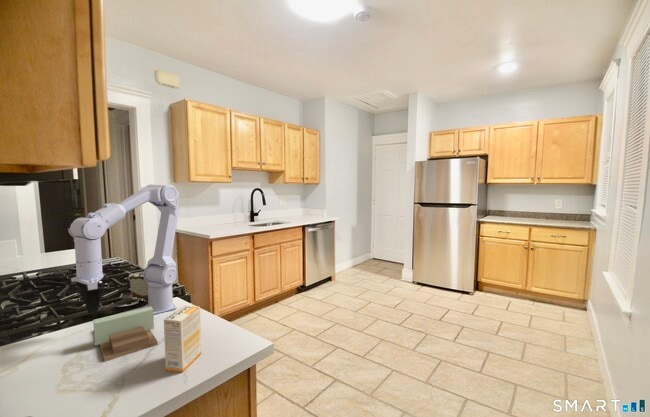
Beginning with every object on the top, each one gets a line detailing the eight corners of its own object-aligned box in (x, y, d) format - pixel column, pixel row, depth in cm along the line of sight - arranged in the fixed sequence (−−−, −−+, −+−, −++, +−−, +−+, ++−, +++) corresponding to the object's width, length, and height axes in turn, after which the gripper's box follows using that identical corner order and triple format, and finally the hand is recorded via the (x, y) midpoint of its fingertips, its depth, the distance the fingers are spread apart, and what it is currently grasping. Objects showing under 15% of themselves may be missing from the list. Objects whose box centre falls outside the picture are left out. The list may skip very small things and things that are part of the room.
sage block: (151, 325, 92) (150, 306, 91) (154, 328, 90) (153, 309, 89) (94, 340, 82) (93, 319, 82) (95, 345, 80) (94, 323, 80)
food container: (169, 296, 117) (168, 271, 116) (159, 302, 111) (158, 276, 110) (140, 294, 118) (139, 270, 118) (128, 300, 112) (127, 274, 111)
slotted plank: (95, 331, 89) (95, 321, 89) (141, 319, 98) (141, 310, 97) (104, 361, 75) (103, 350, 74) (157, 344, 83) (157, 334, 83)
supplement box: (185, 351, 80) (184, 304, 79) (202, 353, 79) (201, 306, 78) (164, 370, 72) (162, 318, 70) (182, 373, 71) (180, 320, 70)
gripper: (69, 257, 86) (72, 303, 87) (71, 269, 75) (74, 320, 76) (99, 253, 90) (101, 297, 92) (105, 264, 80) (108, 312, 81)
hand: (91, 307), depth 84 cm, fingers open, 7 cm apart
